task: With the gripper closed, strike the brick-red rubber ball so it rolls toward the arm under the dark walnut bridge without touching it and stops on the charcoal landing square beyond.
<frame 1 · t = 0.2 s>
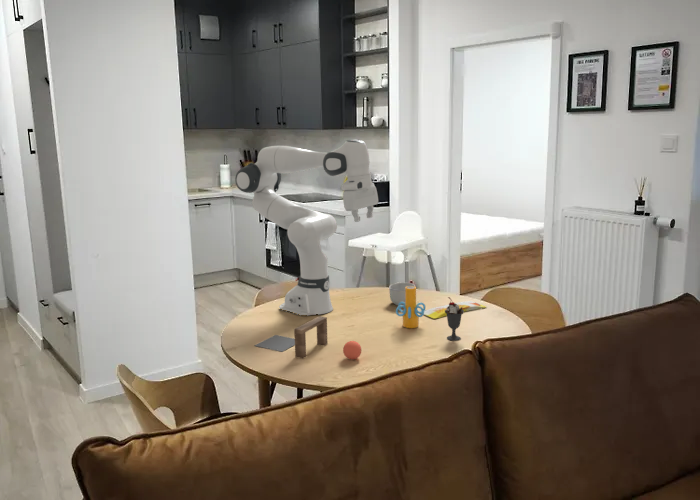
hand: (363, 219, 235), 39 cm above the table, tool pointing down, fingers open, 8 cm apart
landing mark: (278, 343, 218), on the table
bridge: (311, 350, 211), on the table
sundae: (453, 339, 220), on the table
ball: (352, 350, 202), on the table
cylinder: (410, 326, 233), on the table
teacup: (401, 303, 262), on the table
food package: (453, 312, 251), on the table
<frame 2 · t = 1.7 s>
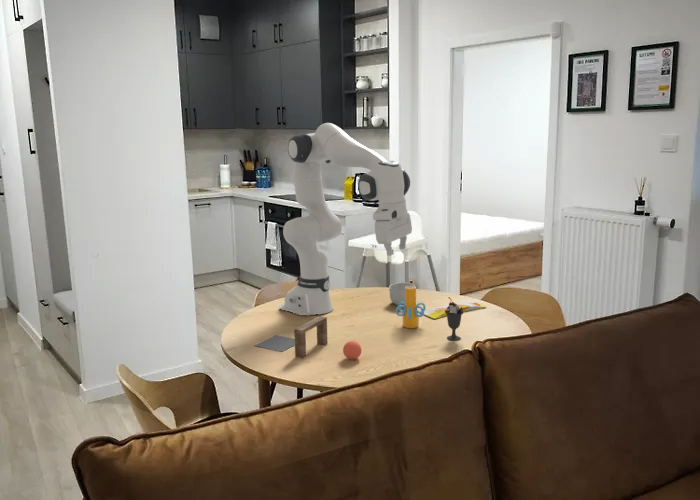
hand: (396, 252, 206), 33 cm above the table, tool pointing down, fingers open, 8 cm apart
nothing on the table moved.
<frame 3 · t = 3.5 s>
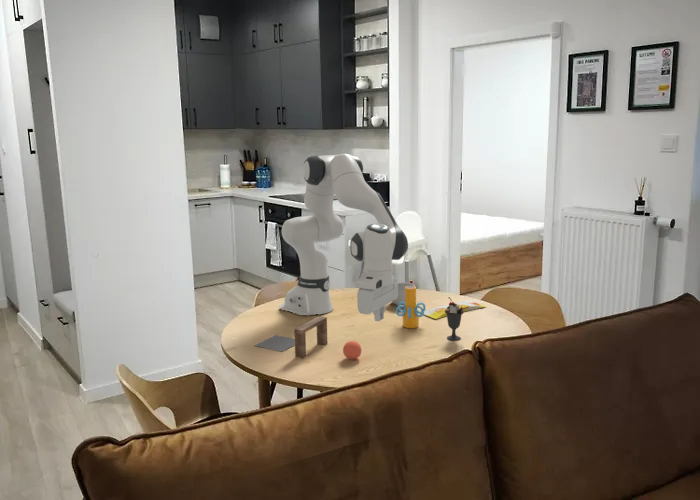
hand: (379, 319, 195), 15 cm above the table, tool pointing down, fingers closed
nothing on the table moved.
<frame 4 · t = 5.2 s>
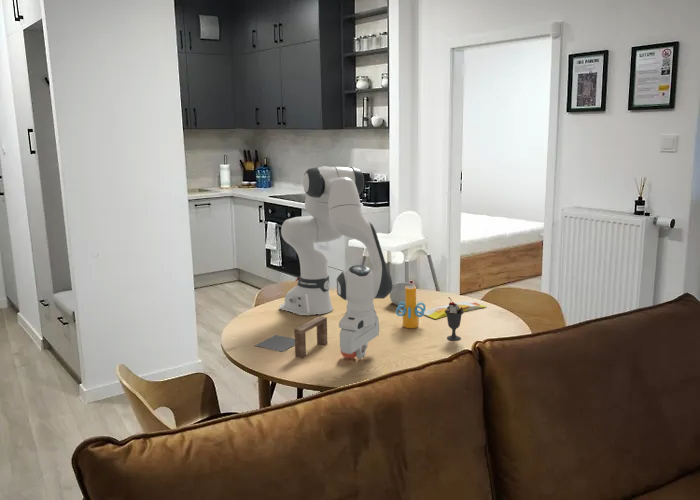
hand: (361, 357, 202), 1 cm above the table, tool pointing down, fingers closed
ball: (349, 349, 203), on the table
everything else where it was.
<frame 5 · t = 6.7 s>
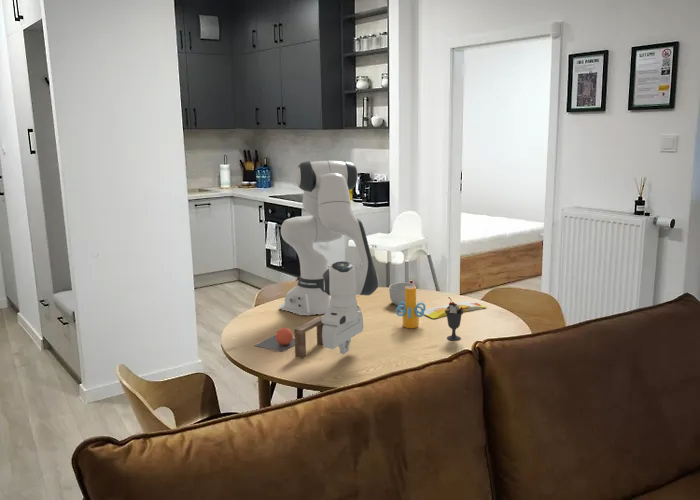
hand: (344, 352, 204), 2 cm above the table, tool pointing down, fingers closed
ball: (284, 336, 216), on the table
everything else where it was.
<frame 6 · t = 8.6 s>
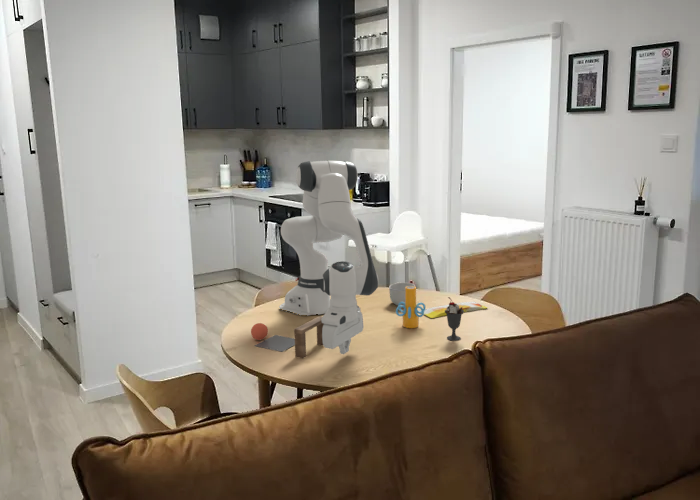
hand: (344, 352, 204), 2 cm above the table, tool pointing down, fingers closed
ball: (259, 331, 222), on the table
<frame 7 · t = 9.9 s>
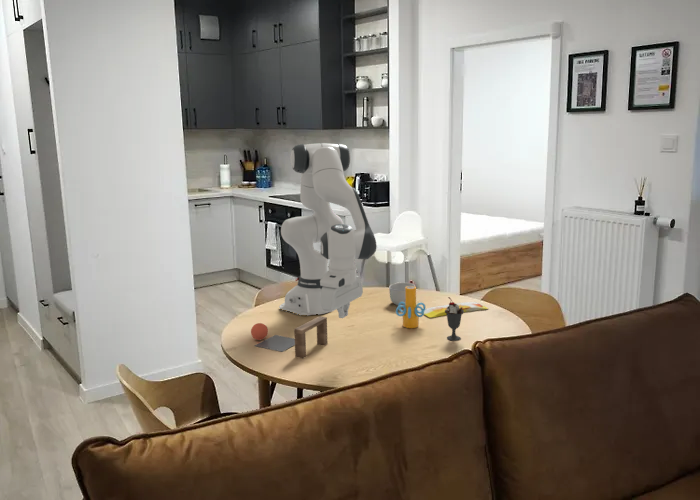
hand: (343, 316, 202), 14 cm above the table, tool pointing down, fingers closed
nothing on the table moved.
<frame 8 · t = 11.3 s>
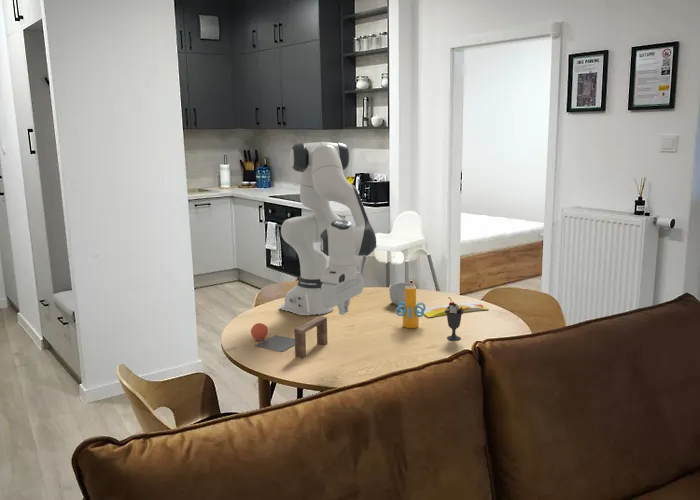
hand: (343, 313, 201), 15 cm above the table, tool pointing down, fingers closed
at the end: ball 8.3 cm from the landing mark (horizontally); ball never touched bridge; ball at rest at the end (0.0 cm/s) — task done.
